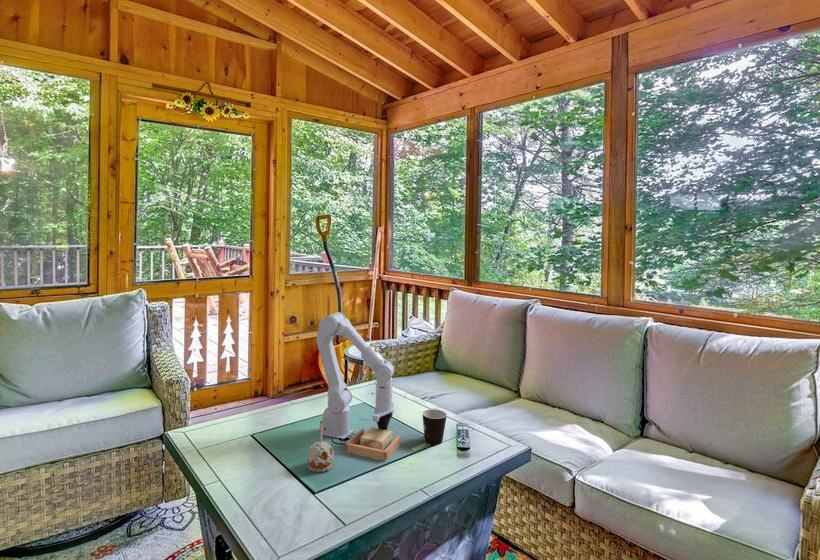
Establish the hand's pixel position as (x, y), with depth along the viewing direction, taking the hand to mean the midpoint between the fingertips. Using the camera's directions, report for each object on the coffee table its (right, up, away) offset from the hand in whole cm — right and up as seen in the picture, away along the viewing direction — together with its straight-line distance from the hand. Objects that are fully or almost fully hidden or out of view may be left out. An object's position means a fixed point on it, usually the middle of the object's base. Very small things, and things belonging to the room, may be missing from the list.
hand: (382, 433), depth 164 cm
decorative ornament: (-18, -4, -21) cm, 28 cm away
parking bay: (-3, -3, -7) cm, 8 cm away
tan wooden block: (-2, -2, -5) cm, 6 cm away
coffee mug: (+18, -3, +1) cm, 19 cm away
